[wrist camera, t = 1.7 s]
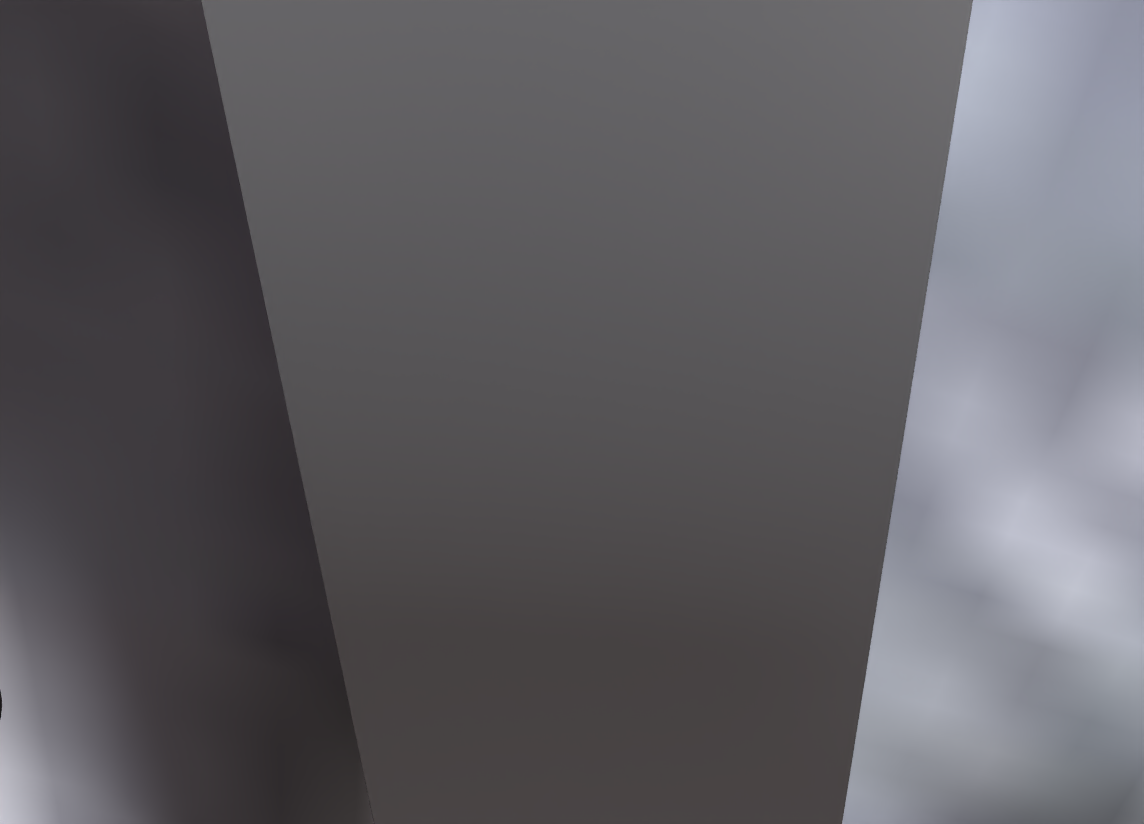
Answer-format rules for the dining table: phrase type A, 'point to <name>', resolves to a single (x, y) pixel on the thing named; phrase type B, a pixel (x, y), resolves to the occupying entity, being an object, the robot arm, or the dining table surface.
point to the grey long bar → (596, 378)
